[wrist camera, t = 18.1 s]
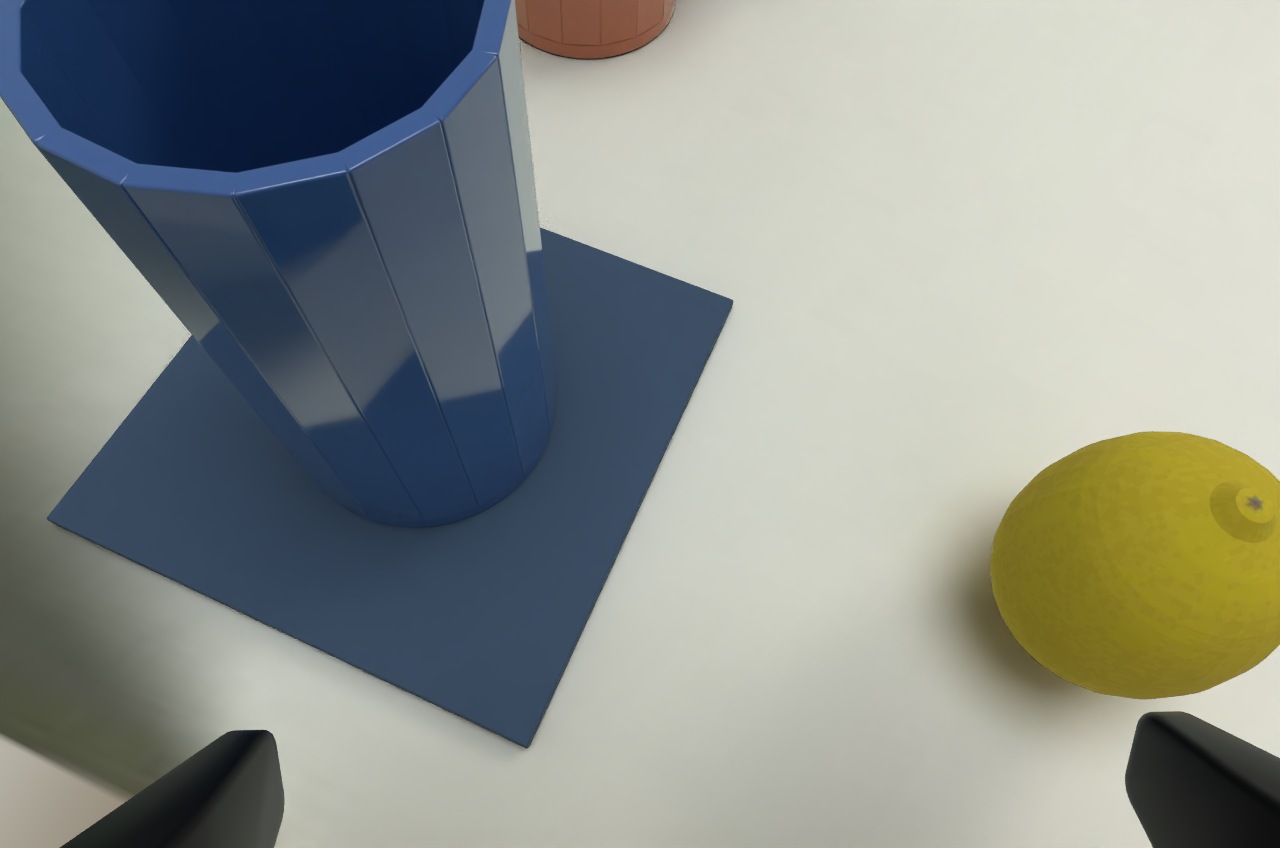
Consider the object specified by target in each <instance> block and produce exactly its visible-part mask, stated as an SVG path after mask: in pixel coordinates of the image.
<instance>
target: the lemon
mask: <svg viewBox="0 0 1280 848" xmlns="http://www.w3.org/2000/svg"><path fill="white" fill-rule="evenodd" d="M990 571H991V580H992V589H993V594H994V597H995V600H996V602H997V605H998V608H999V611H1000V614H1001V616H1002V618H1003V620H1004V621H1005V623H1006V625H1007V626H1008V628H1009V629H1010V631H1011V632H1012V634H1013V636H1014V637H1015V639H1016V640H1017V641H1018V642H1019V644H1020V645H1021V646H1022V647H1023V648H1024V649H1025V650H1026V651H1027V652H1028V653H1029V654H1030V655H1031V656H1032V657H1033V658H1034V659H1035V660H1036V661H1037V662H1038V663H1040V664H1041V665H1043V666H1044V667H1046V668H1047V669H1049V670H1050V671H1052V672H1053V673H1055V674H1056V675H1058V676H1059V677H1060V678H1062V679H1064V680H1066V681H1069V682H1071V683H1074V684H1076V685H1079V686H1081V687H1084V688H1086V689H1089V690H1091V691H1094V692H1097V693H1101V694H1107V695H1113V696H1120V697H1127V698H1134V699H1156V698H1165V697H1173V696H1182V695H1189V694H1194V693H1198V692H1201V691H1204V690H1207V689H1210V688H1212V687H1214V686H1216V685H1219V684H1221V683H1223V682H1225V681H1227V680H1230V679H1232V678H1234V677H1236V676H1238V675H1240V674H1242V673H1245V672H1246V671H1248V670H1250V669H1251V668H1253V667H1255V666H1256V665H1257V664H1259V663H1260V662H1261V661H1263V660H1264V659H1265V658H1266V657H1267V656H1268V655H1269V654H1270V653H1271V652H1273V651H1274V650H1275V649H1276V648H1277V647H1278V646H1279V645H1280V481H1279V480H1278V479H1277V478H1276V477H1275V476H1274V475H1273V474H1272V473H1271V472H1270V471H1269V470H1267V469H1266V468H1265V467H1263V466H1262V465H1260V464H1259V463H1258V462H1256V461H1255V460H1253V459H1252V458H1250V457H1249V456H1248V455H1246V454H1244V453H1242V452H1240V451H1238V450H1235V449H1233V448H1231V447H1229V446H1227V445H1225V444H1222V443H1220V442H1218V441H1216V440H1212V439H1208V438H1204V437H1200V436H1196V435H1192V434H1186V433H1180V432H1139V433H1134V434H1130V435H1125V436H1121V437H1116V438H1112V439H1107V440H1103V441H1099V442H1096V443H1093V444H1090V445H1088V446H1085V447H1083V448H1081V449H1079V450H1077V451H1075V452H1073V453H1071V454H1070V455H1068V456H1066V457H1064V458H1062V459H1061V460H1059V461H1057V462H1055V463H1053V464H1052V465H1050V466H1048V467H1047V468H1045V469H1044V470H1043V471H1041V472H1040V473H1039V474H1038V475H1037V476H1036V477H1034V478H1033V480H1032V481H1031V482H1030V483H1029V484H1028V485H1027V486H1026V487H1025V488H1024V489H1023V490H1022V491H1021V492H1020V493H1019V494H1018V495H1017V496H1016V498H1015V499H1014V500H1013V501H1012V502H1011V504H1010V506H1009V507H1008V509H1007V511H1006V513H1005V515H1004V517H1003V519H1002V521H1001V523H1000V525H999V527H998V529H997V531H996V534H995V537H994V542H993V549H992V555H991V562H990Z"/></svg>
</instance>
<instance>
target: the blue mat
mask: <svg viewBox="0 0 1280 848" xmlns="http://www.w3.org/2000/svg"><path fill="white" fill-rule="evenodd" d="M540 235H541V244H542V253H543V262H544V272H545V281H546V290H547V299H548V308H549V317H550V326H551V336H552V345H553V354H554V363H555V372H556V381H557V391H556V411H555V420H554V425H553V429H552V433H551V436H550V438H549V441H548V444H547V446H546V449H545V450H544V452H543V454H542V456H541V458H540V460H539V461H538V463H537V464H536V466H535V467H534V468H533V470H532V471H531V473H530V474H529V475H528V476H527V477H526V478H525V479H524V481H523V482H522V483H521V484H520V485H519V486H518V487H517V488H516V489H514V490H513V491H512V492H511V493H510V494H508V495H507V496H506V497H505V498H504V499H502V500H500V501H499V502H497V503H496V504H494V505H493V506H491V507H490V508H488V509H486V510H484V511H482V512H480V513H477V514H475V515H473V516H471V517H468V518H465V519H462V520H459V521H456V522H452V523H448V524H443V525H438V526H429V527H399V526H392V525H386V524H382V523H378V522H375V521H371V520H368V519H365V518H363V517H361V516H359V515H357V514H354V513H352V512H350V511H349V510H347V509H346V508H344V507H343V506H341V505H339V504H338V503H337V502H335V501H334V500H333V499H332V498H331V497H330V496H328V495H327V494H325V493H324V492H323V491H321V490H320V488H319V487H318V486H317V485H316V484H315V482H314V481H313V480H312V479H311V477H310V476H309V475H308V474H307V473H306V471H305V470H304V469H303V468H302V467H301V465H300V464H299V463H298V462H297V461H296V459H295V458H294V457H293V456H292V455H291V453H290V452H289V451H288V450H287V449H286V447H285V446H284V445H283V444H282V443H281V441H280V440H279V439H278V438H277V437H276V435H275V434H274V433H273V432H272V430H271V429H270V428H269V427H268V426H267V424H266V423H265V422H264V421H263V420H262V418H261V417H260V416H259V415H258V414H257V412H256V411H255V410H254V409H253V408H252V406H251V405H250V404H249V403H248V402H247V400H246V399H245V398H244V397H243V396H242V394H241V393H240V392H239V391H238V390H237V388H236V387H235V386H234V385H233V383H232V382H231V381H230V380H229V379H228V377H227V376H226V375H225V374H224V373H223V371H222V370H221V369H220V368H219V367H218V365H217V364H216V363H215V362H214V361H213V359H212V358H211V357H210V356H209V355H208V353H207V352H206V351H205V350H204V349H203V347H202V346H201V345H200V344H199V342H198V341H197V340H196V339H195V338H194V336H193V335H192V336H191V337H190V338H189V339H188V341H187V342H186V343H185V344H184V346H183V347H182V348H181V350H180V351H179V352H178V353H177V355H176V356H175V357H174V358H173V360H172V361H171V362H170V363H169V365H168V366H167V367H166V368H165V370H164V371H163V372H162V373H161V375H160V376H159V377H158V379H157V380H156V381H155V382H154V384H153V385H152V386H151V387H150V389H149V390H148V391H147V392H146V394H145V395H144V396H143V397H142V399H141V400H140V401H139V402H138V404H137V405H136V406H135V407H134V409H133V410H132V411H131V413H130V414H129V415H128V416H127V418H126V419H125V420H124V421H123V423H122V424H121V425H120V426H119V428H118V429H117V430H116V431H115V433H114V434H113V435H112V436H111V438H110V439H109V440H108V442H107V443H106V444H105V445H104V447H103V448H102V449H101V450H100V452H99V453H98V454H97V455H96V457H95V458H94V459H93V460H92V462H91V463H90V464H89V465H88V467H87V468H86V469H85V471H84V472H83V473H82V474H81V476H80V477H79V478H78V479H77V481H76V482H75V483H74V484H73V486H72V487H71V488H70V489H69V491H68V492H67V493H66V494H65V496H64V497H63V498H62V499H61V501H60V502H59V503H58V505H57V506H56V507H55V508H54V510H53V511H52V512H51V513H50V515H49V516H48V517H47V520H48V521H50V522H52V523H54V524H56V525H58V526H60V527H62V528H64V529H66V530H68V531H71V532H73V533H75V534H77V535H79V536H81V537H83V538H85V539H87V540H89V541H92V542H94V543H96V544H98V545H100V546H102V547H104V548H106V549H108V550H111V551H113V552H115V553H117V554H119V555H121V556H123V557H125V558H127V559H129V560H132V561H134V562H136V563H138V564H140V565H142V566H144V567H146V568H148V569H151V570H153V571H155V572H157V573H159V574H161V575H163V576H165V577H167V578H169V579H172V580H174V581H176V582H178V583H180V584H182V585H184V586H186V587H188V588H191V589H193V590H195V591H197V592H199V593H201V594H203V595H205V596H207V597H209V598H212V599H214V600H216V601H218V602H220V603H222V604H224V605H226V606H228V607H231V608H233V609H235V610H237V611H239V612H241V613H243V614H245V615H247V616H249V617H252V618H254V619H256V620H258V621H260V622H262V623H264V624H266V625H268V626H271V627H273V628H275V629H277V630H279V631H281V632H283V633H285V634H287V635H289V636H292V637H294V638H296V639H298V640H300V641H302V642H304V643H306V644H308V645H310V646H313V647H315V648H317V649H319V650H321V651H323V652H325V653H327V654H329V655H332V656H334V657H336V658H338V659H340V660H342V661H344V662H346V663H348V664H350V665H353V666H355V667H357V668H359V669H361V670H363V671H365V672H367V673H369V674H372V675H374V676H376V677H378V678H380V679H382V680H384V681H386V682H388V683H390V684H393V685H395V686H397V687H399V688H401V689H403V690H405V691H407V692H409V693H412V694H414V695H416V696H418V697H420V698H422V699H424V700H426V701H428V702H430V703H433V704H435V705H437V706H439V707H441V708H443V709H445V710H447V711H449V712H452V713H454V714H456V715H458V716H460V717H462V718H464V719H466V720H468V721H470V722H473V723H475V724H477V725H479V726H481V727H483V728H485V729H487V730H489V731H492V732H494V733H496V734H498V735H500V736H502V737H504V738H506V739H508V740H510V741H513V742H515V743H517V744H519V745H521V746H523V747H525V748H529V746H530V744H531V742H532V740H533V737H534V735H535V733H536V731H537V729H538V727H539V724H540V722H541V720H542V718H543V716H544V714H545V711H546V709H547V707H548V705H549V703H550V701H551V698H552V696H553V694H554V692H555V690H556V688H557V685H558V683H559V681H560V679H561V677H562V675H563V672H564V670H565V668H566V666H567V664H568V662H569V659H570V657H571V655H572V653H573V651H574V649H575V646H576V644H577V642H578V640H579V638H580V636H581V633H582V631H583V629H584V627H585V625H586V623H587V620H588V618H589V616H590V614H591V612H592V610H593V607H594V605H595V603H596V601H597V599H598V597H599V594H600V592H601V590H602V588H603V586H604V583H605V581H606V579H607V577H608V575H609V573H610V570H611V568H612V566H613V564H614V562H615V560H616V557H617V555H618V553H619V551H620V549H621V547H622V544H623V542H624V540H625V538H626V536H627V534H628V531H629V529H630V527H631V525H632V523H633V521H634V518H635V516H636V514H637V512H638V510H639V508H640V505H641V503H642V501H643V499H644V497H645V495H646V492H647V490H648V488H649V486H650V484H651V482H652V479H653V477H654V475H655V473H656V471H657V469H658V466H659V464H660V462H661V460H662V458H663V456H664V453H665V451H666V449H667V447H668V445H669V443H670V440H671V438H672V436H673V434H674V432H675V430H676V427H677V425H678V423H679V421H680V419H681V417H682V414H683V412H684V410H685V408H686V406H687V404H688V401H689V399H690V397H691V395H692V393H693V391H694V388H695V386H696V384H697V382H698V380H699V378H700V375H701V373H702V371H703V369H704V367H705V365H706V362H707V360H708V358H709V356H710V354H711V351H712V349H713V347H714V345H715V343H716V341H717V338H718V336H719V334H720V332H721V330H722V328H723V325H724V323H725V321H726V319H727V317H728V315H729V312H730V310H731V308H732V305H733V300H731V299H729V298H726V297H723V296H721V295H718V294H715V293H713V292H710V291H707V290H705V289H702V288H700V287H697V286H694V285H692V284H689V283H686V282H684V281H681V280H678V279H676V278H673V277H670V276H668V275H665V274H662V273H660V272H657V271H654V270H652V269H649V268H646V267H644V266H641V265H638V264H636V263H633V262H630V261H628V260H625V259H622V258H620V257H617V256H614V255H612V254H609V253H606V252H604V251H601V250H598V249H596V248H593V247H590V246H588V245H585V244H582V243H580V242H577V241H574V240H572V239H569V238H566V237H564V236H561V235H559V234H556V233H553V232H551V231H548V230H545V229H543V228H540Z"/></svg>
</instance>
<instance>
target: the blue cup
mask: <svg viewBox="0 0 1280 848" xmlns="http://www.w3.org/2000/svg"><path fill="white" fill-rule="evenodd" d="M0 97H1V98H2V100H3V101H4V102H5V104H6V105H7V107H8V108H9V110H10V111H11V112H12V114H13V115H14V117H15V118H16V120H17V121H18V122H19V124H20V125H21V127H22V128H23V129H24V131H25V132H26V134H27V135H28V137H29V138H30V139H31V141H32V142H33V144H34V145H35V146H36V147H37V148H38V150H39V151H40V152H41V153H42V154H43V156H44V157H45V158H46V159H47V161H48V162H49V163H50V164H51V165H52V167H53V168H54V169H55V170H56V171H57V173H58V174H59V175H60V176H61V177H62V179H63V180H64V181H65V182H66V183H67V185H68V186H69V187H70V188H71V189H72V191H73V192H74V193H75V194H76V195H77V197H78V198H79V199H80V200H81V201H82V203H83V204H84V205H85V206H86V208H87V209H88V210H89V211H90V212H91V214H92V215H93V216H94V217H95V218H96V220H97V221H98V222H99V223H100V224H101V226H102V227H103V228H104V229H105V230H106V232H107V233H108V234H109V235H110V236H111V238H112V239H113V240H114V241H115V242H116V244H117V245H118V246H119V247H120V248H121V250H122V251H123V252H124V253H125V255H126V256H127V257H128V258H129V259H130V261H131V262H132V263H133V264H134V265H135V267H136V268H137V269H138V270H139V271H140V273H141V274H142V275H143V276H144V277H145V279H146V280H147V281H148V282H149V283H150V285H151V286H152V287H153V288H154V289H155V291H156V292H157V293H158V294H159V295H160V297H161V298H162V299H163V300H164V302H165V303H166V304H167V305H168V306H169V308H170V309H171V310H172V311H173V312H174V314H175V315H176V316H177V317H178V318H179V320H180V321H181V322H182V323H183V324H184V326H185V327H186V328H187V329H188V330H189V332H190V333H191V334H192V335H193V336H194V338H195V339H196V340H197V341H198V342H199V344H200V345H201V346H202V347H203V349H204V350H205V351H206V352H207V353H208V355H209V356H210V357H211V358H212V359H213V361H214V362H215V363H216V364H217V365H218V367H219V368H220V369H221V370H222V371H223V373H224V374H225V375H226V376H227V377H228V379H229V380H230V381H231V382H232V383H233V385H234V386H235V387H236V388H237V390H238V391H239V392H240V393H241V394H242V396H243V397H244V398H245V399H246V400H247V402H248V403H249V404H250V405H251V406H252V408H253V409H254V410H255V411H256V412H257V414H258V415H259V416H260V417H261V418H262V420H263V421H264V422H265V423H266V424H267V426H268V427H269V428H270V429H271V430H272V432H273V433H274V434H275V435H276V437H277V438H278V439H279V440H280V441H281V443H282V444H283V445H284V446H285V447H286V449H287V450H288V451H289V452H290V453H291V455H292V456H293V457H294V458H295V459H296V461H297V462H298V463H299V464H300V465H301V467H302V468H303V469H304V470H305V471H306V473H307V474H308V475H309V476H310V477H311V479H312V480H313V481H314V482H315V484H316V485H317V486H318V487H319V488H320V490H321V491H323V492H324V493H325V494H327V495H328V496H330V497H331V498H332V499H333V500H334V501H335V502H337V503H338V504H339V505H341V506H343V507H344V508H346V509H347V510H349V511H350V512H352V513H354V514H357V515H359V516H361V517H363V518H365V519H368V520H371V521H375V522H378V523H382V524H386V525H392V526H399V527H429V526H438V525H443V524H448V523H452V522H456V521H459V520H462V519H465V518H468V517H471V516H473V515H475V514H477V513H480V512H482V511H484V510H486V509H488V508H490V507H491V506H493V505H494V504H496V503H497V502H499V501H500V500H502V499H504V498H505V497H506V496H507V495H508V494H510V493H511V492H512V491H513V490H514V489H516V488H517V487H518V486H519V485H520V484H521V483H522V482H523V481H524V479H525V478H526V477H527V476H528V475H529V474H530V473H531V471H532V470H533V468H534V467H535V466H536V464H537V463H538V461H539V460H540V458H541V456H542V454H543V452H544V450H545V449H546V446H547V444H548V441H549V438H550V436H551V433H552V429H553V425H554V420H555V411H556V391H557V381H556V372H555V363H554V354H553V345H552V336H551V326H550V317H549V308H548V299H547V290H546V281H545V272H544V262H543V253H542V244H541V235H540V226H539V217H538V207H537V198H536V189H535V180H534V171H533V162H532V153H531V143H530V134H529V125H528V116H527V107H526V98H525V88H524V79H523V70H522V61H521V52H520V43H519V34H518V24H517V15H516V6H515V0H0Z"/></svg>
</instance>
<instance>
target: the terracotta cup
mask: <svg viewBox="0 0 1280 848" xmlns="http://www.w3.org/2000/svg"><path fill="white" fill-rule="evenodd" d="M515 6H516V15H517V24H518V34H519V37H520V38H521V39H523V40H524V41H526V42H527V43H529V44H531V45H533V46H535V47H536V48H539V49H541V50H544V51H546V52H549V53H553V54H556V55H560V56H565V57H571V58H582V59H595V58H605V57H611V56H616V55H620V54H624V53H627V52H630V51H632V50H635V49H637V48H639V47H641V46H643V45H645V44H647V43H648V42H650V41H651V40H652V39H654V38H655V37H657V36H658V35H659V34H660V33H661V32H662V31H663V30H664V28H665V27H666V26H667V24H668V23H669V21H670V19H671V17H672V15H673V13H674V10H675V6H676V0H515Z"/></svg>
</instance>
